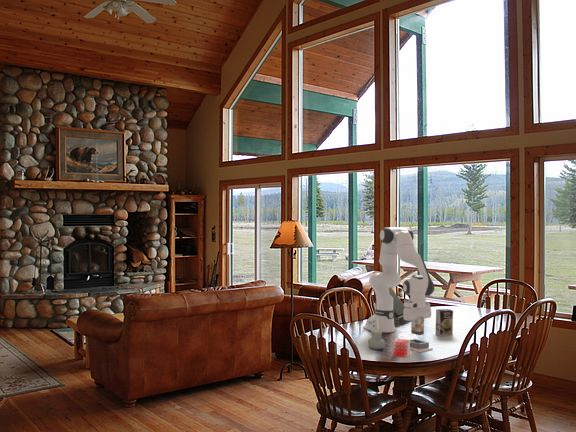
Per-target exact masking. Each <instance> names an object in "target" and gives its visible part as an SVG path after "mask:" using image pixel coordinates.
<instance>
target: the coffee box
mask: <svg viewBox="0 0 576 432" xmlns="http://www.w3.org/2000/svg"><path fill="white" fill-rule="evenodd" d="M453 325H454V310H453V309H449V308H443V309H442V308H440V309H437V308H436V309H435V334H436V335H438V336H441V337H442V336H446V337H447V336H453V335H454V334H453V329H454V328H453V327H454V326H453Z"/></svg>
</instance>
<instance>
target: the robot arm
mask: <svg viewBox="0 0 576 432" xmlns="http://www.w3.org/2000/svg"><path fill="white" fill-rule="evenodd" d="M414 235H415V234H414V231H413V230H412V229H410V228H408V227H407V228H406V227H405V228H404V227H398V226H397V227H389V226H387V227H383V228H382V229H381V230H380V233H379V240H380V241H381V247H380V253H379V259H378V262H379V264H380V266H381V268H382V272H376V273H374V274H371V276H370V277H369V282H368V283H369V286H370V287H371V288H372V289H373V291H374V293H375V297H376V298H375V299H376V301H375V302H376V308H375V309H373V312H374V314H372V315H371V316H370V317H369V318H368V319H367V321H366V325H363V329H366V330H369V331H371V332H372V331H374V330H378V331H381V332H382V333H394V332H396V326H394V317H393V315H394V310H393V297H392V296H391V295H390V293H389V288H392V289H394V288H395V287H398V286H399V285H400V284H401V280H402V278H401V276H400V274H399V273H398V270H397V259H398V258H399V260H400V261H402V262H404V263H407V264H410V265H412V266H414V267H415V268H416V269H418V272H419V274H412V275H411V277H410V278H408V279H406V280H404V281H403V283H402V292H403V293H404V294H405V295H407V296H410V298H409V299H408V300H407V301H406V302H404V303H403V304H404V307H405V308H404V312H403V318H404V320H406V321H410V322H411V323H412V327H414V328H415V327H416V324H415V320H417V319H418V317H424V319H429V318H431V317H432V307H431V303H430V302H429V301H427V300H426V297H430V296H431V295H433V293H434V292H435V283H434V282H433V280H432V278H431V276H430V273H429V271H428V268H427V265H426V263H425V260H424V258H423V257H422V256H423V255H421V254H419V253H418V252H417V250H416V248H415V244H414ZM397 257H398V258H397Z"/></svg>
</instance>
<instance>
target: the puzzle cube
mask: <svg viewBox="0 0 576 432" xmlns="http://www.w3.org/2000/svg"><path fill="white" fill-rule="evenodd" d="M410 340H411V339H405V338H404V339H403V338H395V339H394V340H393V342H392V343H393V344H392V345H393V347H392V348H393V349H392V356H393V357H401V358H408V357H409V356H410V354H411V351H410Z"/></svg>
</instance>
